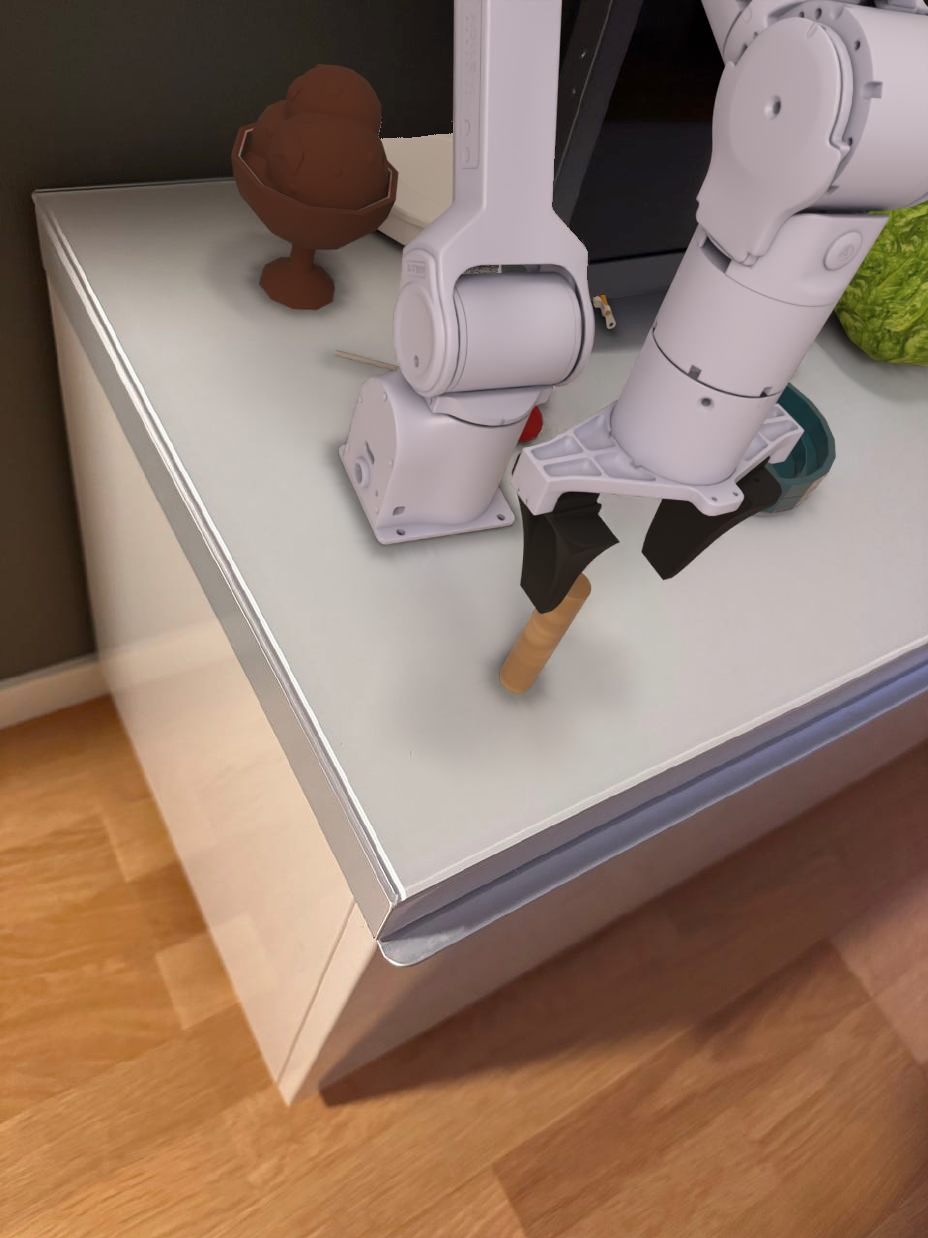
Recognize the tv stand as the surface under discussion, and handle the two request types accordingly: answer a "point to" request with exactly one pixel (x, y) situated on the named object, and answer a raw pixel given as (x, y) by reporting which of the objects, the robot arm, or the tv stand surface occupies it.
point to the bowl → (802, 452)
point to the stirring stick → (541, 639)
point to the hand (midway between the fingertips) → (598, 580)
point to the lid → (418, 183)
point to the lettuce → (892, 292)
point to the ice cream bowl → (315, 177)
